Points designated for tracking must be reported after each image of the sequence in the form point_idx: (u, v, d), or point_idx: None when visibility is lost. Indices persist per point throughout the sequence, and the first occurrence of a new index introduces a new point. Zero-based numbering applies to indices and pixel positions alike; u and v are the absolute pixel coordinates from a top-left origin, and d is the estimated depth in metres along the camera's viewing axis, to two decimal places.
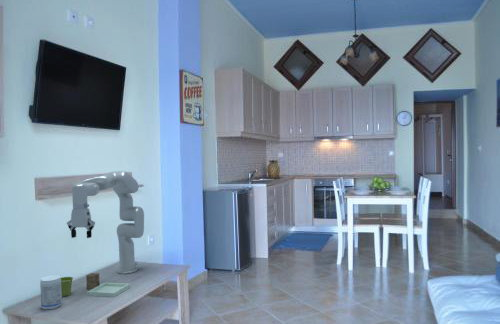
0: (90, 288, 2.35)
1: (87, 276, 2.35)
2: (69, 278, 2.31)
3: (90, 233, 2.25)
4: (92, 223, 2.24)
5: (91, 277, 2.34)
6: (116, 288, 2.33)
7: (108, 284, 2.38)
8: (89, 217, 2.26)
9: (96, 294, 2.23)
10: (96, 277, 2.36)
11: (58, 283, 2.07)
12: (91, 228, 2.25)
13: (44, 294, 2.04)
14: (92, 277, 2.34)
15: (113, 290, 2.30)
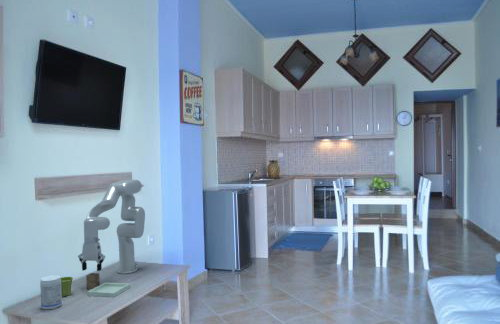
0: (90, 288, 2.35)
1: (87, 276, 2.35)
2: (69, 278, 2.31)
3: (100, 266, 2.35)
4: (102, 257, 2.34)
5: (91, 277, 2.34)
6: (116, 288, 2.33)
7: (108, 284, 2.38)
8: (99, 251, 2.36)
9: (96, 294, 2.23)
10: (96, 277, 2.36)
11: (58, 283, 2.07)
12: (101, 261, 2.34)
13: (44, 294, 2.04)
14: (92, 277, 2.34)
15: (113, 290, 2.30)
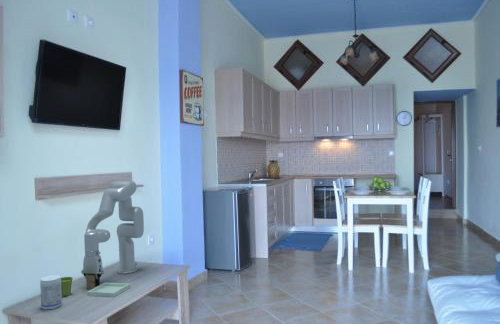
0: (90, 288, 2.35)
1: (87, 276, 2.35)
2: (69, 278, 2.31)
3: (98, 281, 2.36)
4: (101, 272, 2.35)
5: (91, 277, 2.34)
6: (116, 288, 2.33)
7: (108, 284, 2.38)
8: (100, 264, 2.37)
9: (96, 294, 2.23)
10: None
11: (58, 283, 2.07)
12: (99, 276, 2.35)
13: (44, 294, 2.04)
14: (92, 277, 2.34)
15: (113, 290, 2.30)
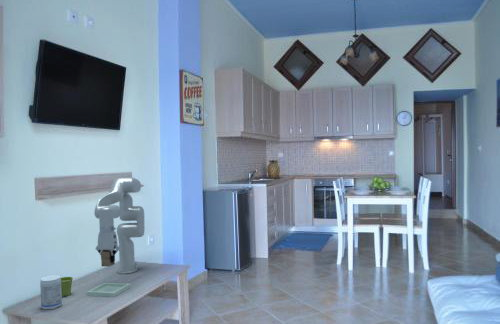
0: (105, 265, 2.27)
1: (102, 252, 2.28)
2: (69, 278, 2.31)
3: (113, 258, 2.29)
4: (117, 249, 2.28)
5: (106, 253, 2.27)
6: (116, 288, 2.33)
7: (108, 284, 2.38)
8: (115, 240, 2.29)
9: (96, 294, 2.23)
10: None
11: (58, 283, 2.07)
12: (115, 253, 2.28)
13: (44, 294, 2.04)
14: (107, 253, 2.27)
15: (113, 290, 2.30)
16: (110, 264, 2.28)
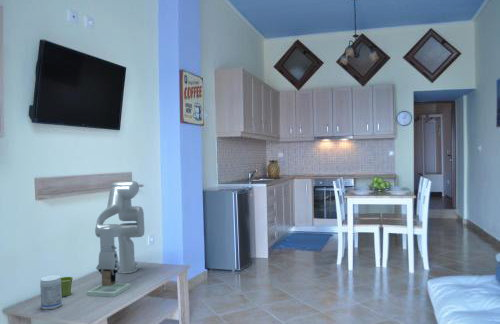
0: (106, 284, 2.27)
1: (102, 272, 2.28)
2: (69, 278, 2.31)
3: (114, 277, 2.29)
4: (117, 268, 2.28)
5: (107, 273, 2.27)
6: (116, 288, 2.33)
7: None
8: (116, 259, 2.29)
9: (96, 294, 2.23)
10: None
11: (58, 283, 2.07)
12: (115, 272, 2.28)
13: (44, 294, 2.04)
14: (108, 273, 2.27)
15: (113, 290, 2.30)
16: (111, 283, 2.28)
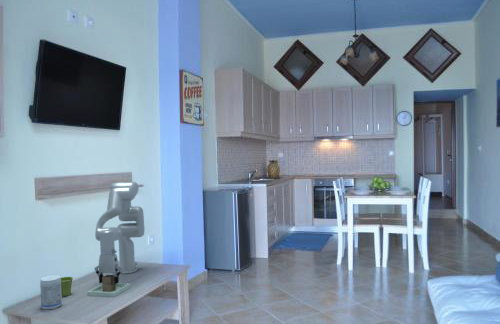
0: (106, 290, 2.28)
1: (103, 278, 2.28)
2: (69, 278, 2.31)
3: (117, 279, 2.28)
4: (120, 269, 2.27)
5: (107, 279, 2.27)
6: (116, 288, 2.33)
7: None
8: (116, 263, 2.29)
9: (96, 294, 2.23)
10: (112, 279, 2.29)
11: (58, 283, 2.07)
12: (118, 274, 2.28)
13: (44, 294, 2.04)
14: (108, 279, 2.27)
15: (113, 290, 2.30)
16: (111, 289, 2.28)
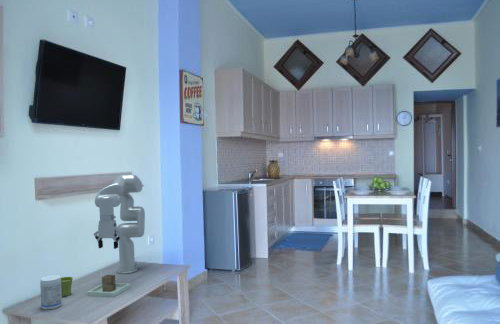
0: (106, 290, 2.28)
1: (103, 278, 2.28)
2: (69, 278, 2.31)
3: (117, 244, 2.31)
4: (119, 234, 2.30)
5: (107, 279, 2.27)
6: (116, 288, 2.33)
7: None
8: (116, 228, 2.32)
9: (96, 294, 2.23)
10: (112, 279, 2.29)
11: (58, 283, 2.07)
12: (118, 239, 2.31)
13: (44, 294, 2.04)
14: (108, 279, 2.27)
15: (113, 290, 2.30)
16: (111, 289, 2.28)
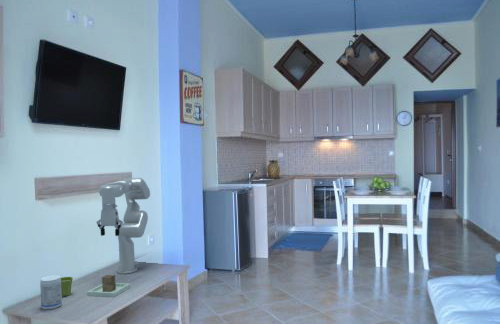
0: (106, 290, 2.28)
1: (103, 278, 2.28)
2: (69, 278, 2.31)
3: (118, 231, 2.45)
4: (120, 222, 2.44)
5: (107, 279, 2.27)
6: (116, 288, 2.33)
7: None
8: (117, 217, 2.46)
9: (96, 294, 2.23)
10: (112, 279, 2.29)
11: (58, 283, 2.07)
12: (119, 227, 2.44)
13: (44, 294, 2.04)
14: (108, 279, 2.27)
15: (113, 290, 2.30)
16: (111, 289, 2.28)
